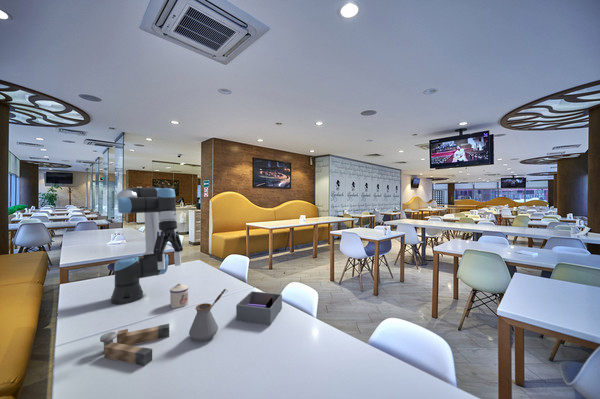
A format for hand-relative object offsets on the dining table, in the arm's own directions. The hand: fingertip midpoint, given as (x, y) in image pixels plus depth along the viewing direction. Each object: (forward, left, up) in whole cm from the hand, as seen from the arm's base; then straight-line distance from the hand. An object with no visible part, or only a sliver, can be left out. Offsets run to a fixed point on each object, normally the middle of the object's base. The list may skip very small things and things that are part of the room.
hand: (170, 267), depth 114 cm
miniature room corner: (+36, +20, -27) cm, 49 cm away
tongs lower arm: (0, -23, -26) cm, 35 cm away
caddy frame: (+36, +19, -26) cm, 49 cm away
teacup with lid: (-11, +20, -27) cm, 35 cm away
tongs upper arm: (-3, -16, -26) cm, 31 cm away
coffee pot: (+21, 0, -27) cm, 34 cm away
